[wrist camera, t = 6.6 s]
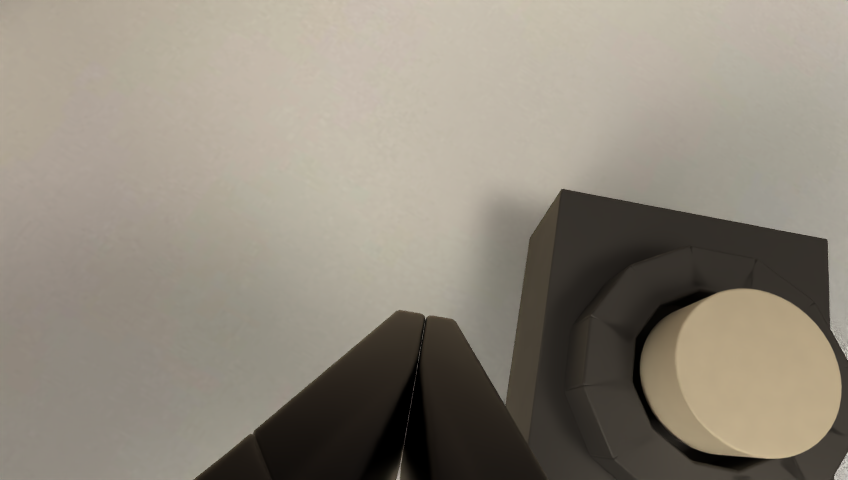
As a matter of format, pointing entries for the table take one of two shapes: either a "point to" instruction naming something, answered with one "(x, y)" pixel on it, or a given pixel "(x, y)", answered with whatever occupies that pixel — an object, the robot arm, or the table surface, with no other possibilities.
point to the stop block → (644, 335)
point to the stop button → (742, 376)
